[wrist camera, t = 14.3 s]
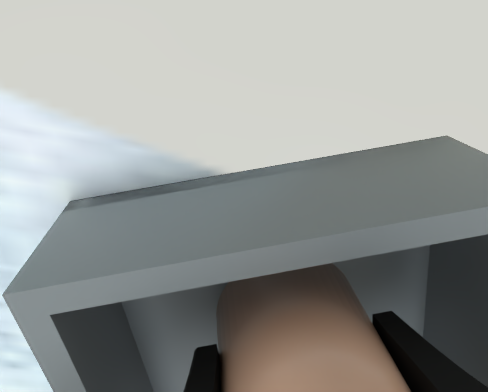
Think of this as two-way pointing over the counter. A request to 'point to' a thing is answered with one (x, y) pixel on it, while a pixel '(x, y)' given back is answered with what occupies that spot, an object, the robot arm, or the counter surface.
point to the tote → (257, 260)
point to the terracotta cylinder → (300, 336)
